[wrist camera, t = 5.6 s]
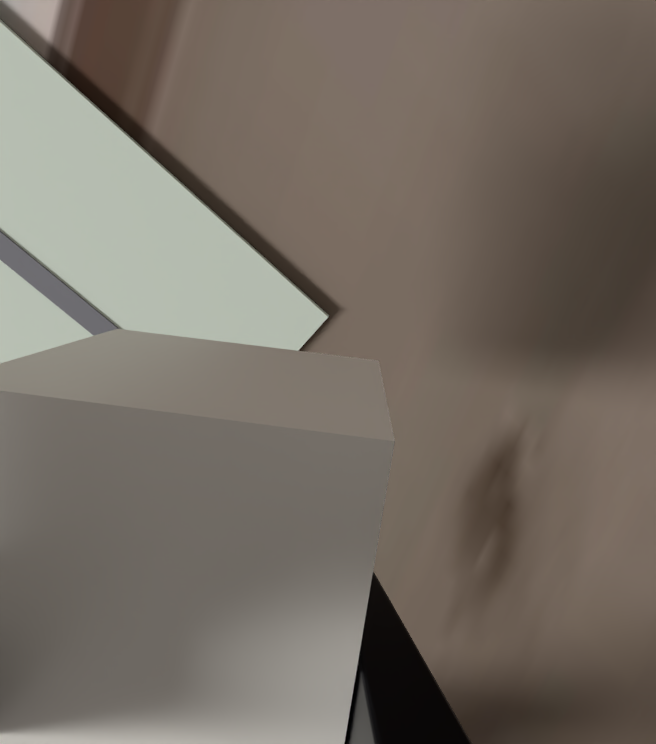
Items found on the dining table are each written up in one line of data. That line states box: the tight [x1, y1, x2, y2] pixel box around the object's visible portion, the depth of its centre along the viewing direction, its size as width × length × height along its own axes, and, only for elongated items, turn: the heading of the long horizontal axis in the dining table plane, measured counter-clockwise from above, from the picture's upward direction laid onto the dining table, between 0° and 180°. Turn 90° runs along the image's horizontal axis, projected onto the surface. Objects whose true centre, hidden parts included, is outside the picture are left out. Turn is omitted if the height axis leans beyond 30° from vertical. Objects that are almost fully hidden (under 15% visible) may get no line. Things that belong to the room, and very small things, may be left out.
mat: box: [0, 20, 329, 363], centre depth 18 cm, size 18×14×1 cm
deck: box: [0, 329, 395, 744], centre depth 7 cm, size 5×8×4 cm, turn 174°
